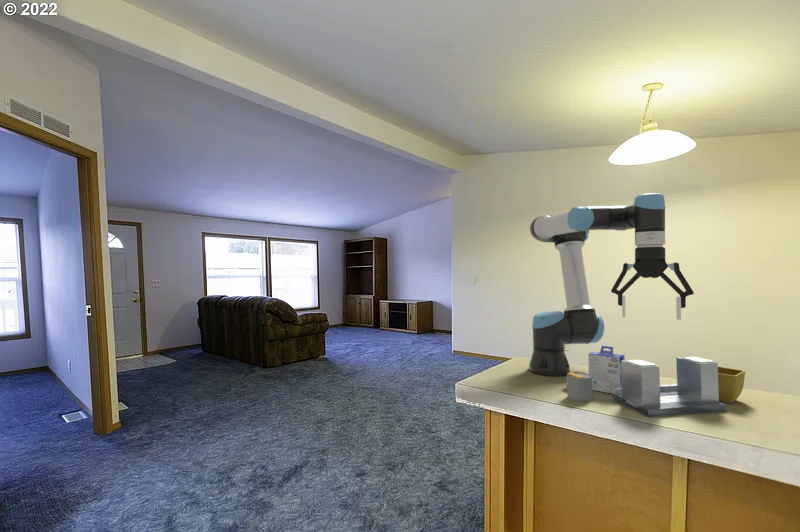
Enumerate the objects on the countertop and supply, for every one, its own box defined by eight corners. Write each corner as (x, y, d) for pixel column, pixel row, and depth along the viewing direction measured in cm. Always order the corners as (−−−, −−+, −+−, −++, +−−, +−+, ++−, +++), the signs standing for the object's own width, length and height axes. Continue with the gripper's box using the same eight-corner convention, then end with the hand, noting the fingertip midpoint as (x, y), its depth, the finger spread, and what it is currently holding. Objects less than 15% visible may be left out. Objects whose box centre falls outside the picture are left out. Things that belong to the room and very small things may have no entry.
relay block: (567, 396, 119) (567, 373, 119) (580, 395, 120) (579, 371, 121) (579, 402, 114) (578, 377, 114) (592, 400, 116) (591, 375, 116)
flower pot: (736, 407, 108) (735, 375, 108) (699, 398, 115) (698, 369, 115) (746, 400, 112) (745, 370, 113) (710, 393, 120) (709, 365, 120)
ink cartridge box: (626, 392, 122) (625, 347, 123) (621, 396, 118) (620, 350, 119) (594, 385, 129) (593, 344, 130) (588, 389, 126) (587, 346, 126)
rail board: (612, 399, 116) (611, 356, 116) (682, 394, 119) (680, 352, 119) (648, 417, 102) (646, 367, 102) (726, 411, 105) (724, 363, 105)
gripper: (601, 247, 114) (602, 317, 114) (705, 244, 101) (706, 322, 102) (602, 248, 120) (603, 313, 121) (700, 245, 108) (701, 318, 108)
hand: (650, 317), depth 111 cm, fingers open, 13 cm apart
